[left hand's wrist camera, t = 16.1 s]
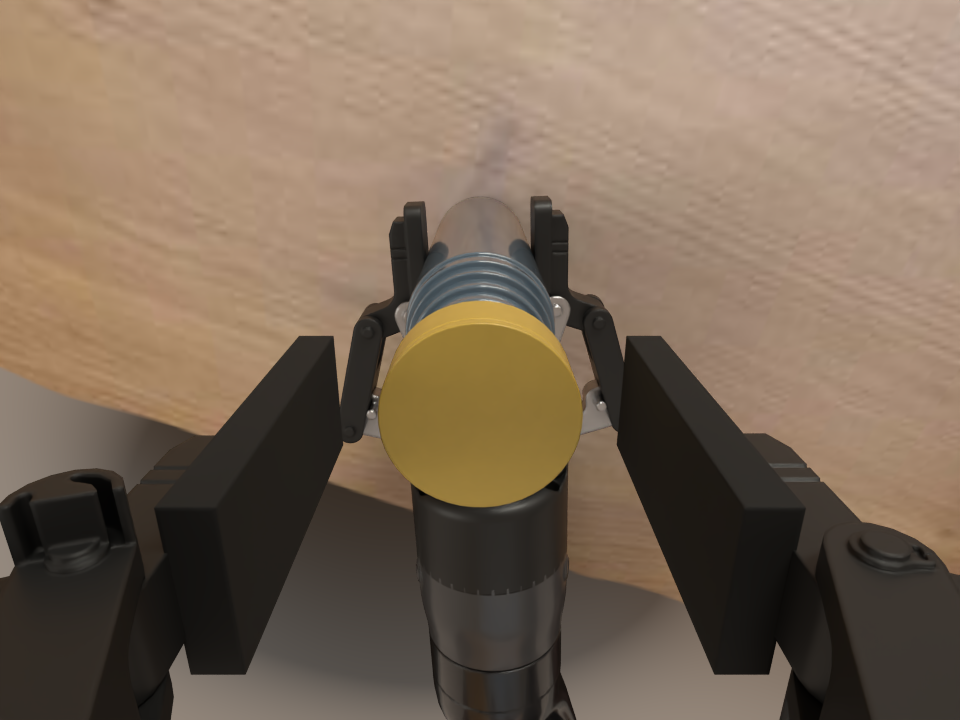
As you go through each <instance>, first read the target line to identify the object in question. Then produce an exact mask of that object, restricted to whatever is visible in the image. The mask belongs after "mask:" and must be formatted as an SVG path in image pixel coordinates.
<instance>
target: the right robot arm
mask: <svg viewBox="0 0 960 720" xmlns="http://www.w3.org/2000/svg"><path fill="white" fill-rule="evenodd" d="M530 206H531V251H532V254H533V256H534V259H535V261H536V264H537V266H538V269H539V271H540V274H541V276H542V279H543V281H544V284H545V286H546V289H547V291H548V294H549V297H550V299H551V302H552V305H553V310H554V317H555V337H556V338H557V339H558V341H559V342H560V341H561V338H562V335H563V332H564V329H565V326H569V327H573V328H576V329H579V330H582V334H583V337H584V341H585V344H586V348H587V351H588V355H589V358H590V362H591V366H592V369H593V373H594V376H595V380H592V381H590V382H588V383H587V384H586V385H585V386H584V388H583V392H582V393H583V400H582V409H583V420H582V429H581V434H580V435H582V434H585V433H589V432H592V431H596V430H599V429H603V428H606V427H610V426H612V427H613V428H614V429H615V430H616V431H617V432H618V426H619V415H620V404H621V393H622V382H623V370H624V361H623V357H622V353H621V349H620V345H619V342H618V338H617V334H616V330H615V326H614V322H613V319H612V316H611V315H610V313H609V312H608V311H607V310H606V309H605V308H604V305H603V303H602V301H601V300H600V299H599V298H598V297H597V296H595V295H591V294H588V295H583V294H580V293H577V292H574V291H572V290H570V289H569V288H568V225H567V222H566V219H565V217H564V214H563V213H562V212H561V211H560V210H552V202H551V199H550V198H549V197H548V196H534V197H531V205H530ZM389 240H390V249H391V250H390V251H391V262H392V272H393V283H394V296H393V297H392V298H390V299H388V300H386V301H383V302H381V303H373V304H370V305H369V306H367V307H366V309H365V310H364V312H363V314H362V315H361V317H360V318H359V320H358V322H357V323H356V325H355V327H354V331H353V336H352V342H351V348H350V353H349V359H348V365H347V370H346V376H345V382H344V387H343V393H342V398H341V404H340V415H341V426H342V438H343V441H344V442H346V443H355V442H357V441H359V440H360V439H361V438H362V436H363V435H367V436H372V437H377V438H381V436H380V431H379V426H378V404H379V398H380V394H381V390H382V389H380V388H376V386H377V381H378V376H379V371H380V366H381V361H382V356H383V351H384V346H385V341H386V337H388V336H391V335H393V334H396V333H398V332H401V334H402V336H403V339H404V337H405V325H406V312H407V307H408V303H409V300H410V298H411V295H412V293H413V290H414V288H415V285H416V283H417V280H418V278H419V275H420V273H421V270H422V268H423V265H424V262H425V260H426V257H427V255H428V252H429V251H428V237H427V222H426V209H425V202H424V201H421V202H407V203H406V204H405V206H404V217H397V218H396V219H395V220H394V221H393V223H392V226H391V230H390V233H389ZM411 491H412V502H413V513H414V524H415V534H416V545H417V557H418V559H417V564H416V571H417V577H418V581H419V582H420V588H421V595H422V601H423V605H424V609H425V613H426V616H427V620H428V625H429V633H430V645H431V656H432V667H433V678H434V685H435V690H436V694H437V698H438V703H439V705H440V708H441V710H442V711H443V714H444V716H445V717H446V719H447V720H576V717H575V714H574V711H573V708H572V705H571V701H570V698H569V695H568V692H567V688H566V686H565V683H564V680H563V678H562V675H561V673H560V666H561V617H562V611H563V607H564V601H565V594H566V579H567V577H568V570H569V557H568V555H567V502H568V463H567V465H566V466H565V467H564V469H563V470H562V471H561V472H560V473H559V474H558V475H557V476H556V478H555V479H554V480H552V481H551V482H550V483H549V484H548V485H546V486H545V487H544V488H542V489H541V490H539V491H537V492H536V493H534V494H532V495H530V496H528V497H526V498H524V499H522V500H519V501H516V502H513V503H510V504H505V505H501V506H494V507H467V506H459V505H455V504H451V503H447V502H445V501H442V500H439V499H436V498H434V497H432V496H430V495H428V494H426V493H424V492H423V491H421V490H420V489H418V488H417V487H415V486H414V485H413V484H412V483H411Z"/></svg>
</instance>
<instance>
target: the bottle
mask: <svg viewBox="0 0 960 720" xmlns="http://www.w3.org/2000/svg"><path fill="white" fill-rule="evenodd" d="M469 301H492V302H499V303H503V304H507V305H511V306H514V307H516V308H519V309H521V310H523V311H525V312H527V313H529V314H530V315H532V316H534V317H535V318H537V319H538V320H539V321H540V322H542V323H543V324H544V325H545V326H546V327H547V328H548V329H549V330H550V331H551V332H552V333H553V334H554V335H555V317H554V310H553V305H552V302H551V299H550V297H549V294H548V291H547V289H546V286H545V284H544V281H543V279H542V276H541V274H540V271H539V269H538V266H537V264H536V261H535V259H534V256H533V254H532V251H531V249H530V246H529V244H528V241H527V239H526V236H525V234H524V231H523V229H522V226H521V224H520V222H519V220H518V218H517V216H516V215H515V214H514V212H513V211H512V210H511V209H510V208H509V207H507V206H506V205H505V204H503V203H502V202H500V201H498V200H495V199H492V198H488V197H472V198H468V199H465V200H463V201H461V202H459V203H457V204H455V205H454V206H453V207H452V208H451V209H450V210H449V211H448V212H447V213H446V214H445V215H444V217H443V219H442V220H441V222H440V225H439V227H438V230H437V232H436V235H435V237H434V240H433V242H432V245H431V247H430V250H429V252H428V255H427V257H426V260H425V262H424V265H423V268H422V270H421V273H420V275H419V278H418V280H417V283H416V285H415V288H414V290H413V293H412V295H411V298H410V300H409V303H408V307H407V312H406V325H405V336H406V335H407V334H408V332H409V331H410V330H411V329H412V328H413V327H414V326H415V325H416V324H417V323H419V322H420V321H421V320H423V319H424V318H425V317H427V316H428V315H430V314H432V313H434V312H435V311H437V310H439V309H442V308H444V307H447V306H450V305H453V304H457V303H461V302H469Z"/></svg>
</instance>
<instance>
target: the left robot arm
mask: <svg viewBox="0 0 960 720" xmlns="http://www.w3.org/2000/svg"><path fill="white" fill-rule="evenodd" d="M342 446H343V438H342V426H341V415H340V404H339V393H338V382H337V370H336V359H335V348H334V337H333V336H299V337H298V338H297V339H296V340H295V342H294V343H293V344H292V345H291V346H290V348H289V349H288V350H287V351H286V352H285V353H284V355H283V356H282V357H281V358H280V359H279V361H278V362H277V363H276V364H275V365H274V366H273V368H272V369H271V370H270V371H269V372H268V374H267V375H266V376H265V377H264V378H263V379H262V381H261V382H260V383H259V384H258V385H257V387H256V388H255V389H254V390H253V391H252V392H251V394H250V395H249V396H248V397H247V398H246V400H245V401H244V402H243V403H242V404H241V405H240V407H239V408H238V409H237V410H236V411H235V413H234V414H233V415H232V416H231V417H230V418H229V420H228V421H227V422H226V423H225V424H224V426H223V427H222V428H221V429H220V430H219V431H218V433H217V434H216V435H215V436H193V437H191V438H190V439H188V440H186V441H184V442H183V443H181V444H179V445H177V446H176V447H174V448H172V449H170V450H169V451H168V452H167V453H166V454H165V455H164V456H163V457H162V458H161V460H160V461H159V462H158V463H157V464H156V465H155V466H154V470H150V471H149V472H148V473H147V474H146V475H145V476H144V477H143V478H142V480H141V483H140V484H137V485H136V486H135V487H134V488H133V489H132V490H131V491H130V492H129V493H128V494H127V493H126V489H125V485H124V481H123V477H121V476H120V475H118V474H117V473H115V472H114V471H109V470H103V469H97V468H96V469H80V470H73V471H68V472H63V473H59V474H55V475H51V476H48V477H45V478H43V479H40V480H37V481H35V482H32V483H30V484H27V485H26V486H24V487H22V488H20V489H19V490H17V491H15V492H13V493H12V494H10V495H8V496H7V497H6V498H5V499H4V500H3V501H2V502H1V503H0V522H1V525H2V528H3V531H4V534H5V537H6V540H7V543H8V546H9V549H10V552H11V555H12V558H13V561H14V565H15V567H14V569H13V570H12V572H11V574H10V576H8V577H4V578H0V720H171V713H172V706H173V698H174V695H173V688H172V682H171V678H170V674H169V669H170V667H171V665H172V663H173V661H174V660H175V658H176V656H177V655H178V653H179V651H180V649H181V648H182V646H183V644H184V646H185V650H186V655H187V659H188V664H189V668H190V672H191V674H192V675H245V674H246V672H247V670H248V668H249V665H250V663H251V660H252V658H253V656H254V653H255V651H256V649H257V646H258V644H259V642H260V639H261V637H262V635H263V632H264V630H265V627H266V625H267V623H268V620H269V618H270V616H271V613H272V611H273V609H274V606H275V604H276V602H277V599H278V597H279V595H280V592H281V590H282V587H283V585H284V583H285V580H286V578H287V576H288V573H289V571H290V569H291V566H292V564H293V562H294V559H295V557H296V555H297V552H298V550H299V547H300V545H301V543H302V540H303V538H304V536H305V533H306V531H307V528H308V526H309V524H310V521H311V519H312V517H313V514H314V512H315V510H316V507H317V505H318V503H319V500H320V498H321V496H322V493H323V491H324V489H325V486H326V484H327V482H328V479H329V477H330V474H331V472H332V470H333V467H334V465H335V463H336V460H337V458H338V456H339V453H340V451H341V449H342ZM617 446H618V449H619V451H620V453H621V456H622V458H623V460H624V463H625V465H626V467H627V470H628V472H629V474H630V477H631V479H632V482H633V484H634V486H635V489H636V491H637V493H638V496H639V498H640V500H641V503H642V505H643V507H644V510H645V512H646V515H647V517H648V519H649V522H650V524H651V526H652V529H653V531H654V533H655V536H656V538H657V540H658V543H659V545H660V547H661V550H662V552H663V555H664V557H665V559H666V562H667V564H668V566H669V569H670V571H671V573H672V576H673V578H674V580H675V583H676V585H677V587H678V590H679V592H680V595H681V597H682V599H683V602H684V604H685V606H686V609H687V611H688V613H689V616H690V618H691V620H692V623H693V625H694V627H695V630H696V632H697V634H698V637H699V639H700V642H701V644H702V646H703V649H704V651H705V653H706V656H707V658H708V660H709V663H710V665H711V668H712V670H713V672H714V674H715V675H769V673H770V668H771V664H772V659H773V655H774V650H775V646H776V641H777V643H778V644H779V646H780V648H781V649H782V651H783V653H784V655H785V656H786V658H787V660H788V662H789V663H790V665H791V667H792V670H791V674H790V678H789V682H788V686H787V691H786V695H785V699H784V703H783V707H782V712H781V716H780V720H960V575H956V574H952V573H949V571H948V569H947V567H946V565H945V564H944V563H943V562H942V561H941V559H940V558H939V557H938V556H937V555H936V554H935V552H934V551H932V550H931V549H929V548H928V547H927V546H925V545H924V544H922V543H921V542H919V541H918V540H916V539H915V538H912V537H910V536H908V535H906V534H903V533H901V532H899V531H896V530H894V529H891V528H887V527H884V526H880V525H876V524H872V523H863V522H861V521H860V520H859V519H858V518H857V516H856V515H855V514H854V513H853V512H852V511H851V510H850V509H849V508H848V507H847V506H846V505H845V504H844V503H843V502H842V501H841V500H840V499H839V498H838V497H837V496H836V495H835V493H834V492H833V491H832V490H831V489H830V488H829V487H828V486H827V485H826V484H825V483H824V482H820V478H819V477H818V476H817V475H816V474H815V473H814V471H813V470H812V469H811V468H807V464H806V463H805V462H804V461H803V460H802V459H801V458H800V457H799V456H798V455H797V454H796V453H795V452H794V451H793V450H792V448H790V447H789V446H787V445H785V444H783V443H782V442H780V441H778V440H776V439H774V438H773V437H771V436H769V435H767V434H743V433H742V431H741V430H740V429H739V428H738V427H737V426H736V424H735V423H734V422H733V421H732V420H731V418H730V417H729V416H728V415H727V414H726V413H725V411H724V410H723V409H722V408H721V407H720V405H719V404H718V403H717V402H716V401H715V400H714V398H713V397H712V396H711V395H710V394H709V392H708V391H707V390H706V389H705V388H704V387H703V385H702V384H701V383H700V382H699V381H698V379H697V378H696V377H695V376H694V375H693V374H692V372H691V371H690V370H689V369H688V368H687V366H686V365H685V364H684V363H683V362H682V361H681V359H680V358H679V357H678V356H677V355H676V353H675V352H674V351H673V350H672V349H671V348H670V346H669V345H668V344H667V343H666V342H665V340H664V339H663V338H662V337H661V336H627V337H626V348H625V359H624V370H623V382H622V393H621V404H620V415H619V426H618V438H617Z"/></svg>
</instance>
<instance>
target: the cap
mask: <svg viewBox="0 0 960 720" xmlns="http://www.w3.org/2000/svg"><path fill="white" fill-rule="evenodd" d="M582 420H583V409H582V400H581V396H580V391H579V388H578V386H577V383H576V380H575V378H574V375H573V372H572V370H571V367H570V364H569V362H568V359H567V356H566V353H565V351H564V349H563V348H562V346H561V344H560V342H559V341H558V339H557V338H556V337H555V335H554V334H553V333H552V332H551V331H550V330H549V329H548V328H547V327H546V326H545V325H544V324H543V323H542V322H540V321H539V320H538V319H537V318H535V317H534V316H532V315H530V314H529V313H527V312H525V311H523V310H521V309H519V308H516V307H514V306H511V305H507V304H503V303H499V302H492V301H469V302H461V303H457V304H453V305H450V306H447V307H444V308H442V309H439V310H437V311H435V312H434V313H432V314H430V315H428V316H427V317H425V318H424V319H423V320H421V321H420V322H419V323H417V324H416V325H415V326H414V327H413V328H412V329H411V330H410V331H409V332H408V334H407V335H406V336H405V337H404V339H403V340H402V342H401V343H400V345H399V347H398V348H397V350H396V352H395V355H394V357H393V360H392V362H391V365H390V368H389V371H388V373H387V376H386V379H385V381H384V384H383V387H382V390H381V394H380V398H379V404H378V426H379V431H380V436H381V439H382V442H383V445H384V448H385V450H386V452H387V454H388V456H389V458H390V459H391V461H392V462H393V464H394V465H395V467H396V468H397V469H398V471H399V472H400V473H401V474H402V475H403V476H404V477H405V478H406V479H407V480H408V481H409V482H411V483H412V484H413V485H414V486H415V487H417V488H418V489H420V490H421V491H423V492H424V493H426V494H428V495H430V496H432V497H434V498H436V499H439V500H442V501H445V502H447V503H451V504H455V505H459V506H467V507H494V506H501V505H505V504H510V503H513V502H516V501H519V500H522V499H524V498H526V497H528V496H530V495H532V494H534V493H536V492H537V491H539V490H541V489H542V488H544V487H545V486H546V485H548V484H549V483H550V482H551V481H552V480H554V479H555V478H556V476H557V475H558V474H559V473H560V472H561V471H562V470H563V469H564V467H565V466H566V465H567V463H568V462H569V460H570V458H571V457H572V455H573V453H574V451H575V449H576V446H577V444H578V441H579V438H580V434H581V429H582Z"/></svg>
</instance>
